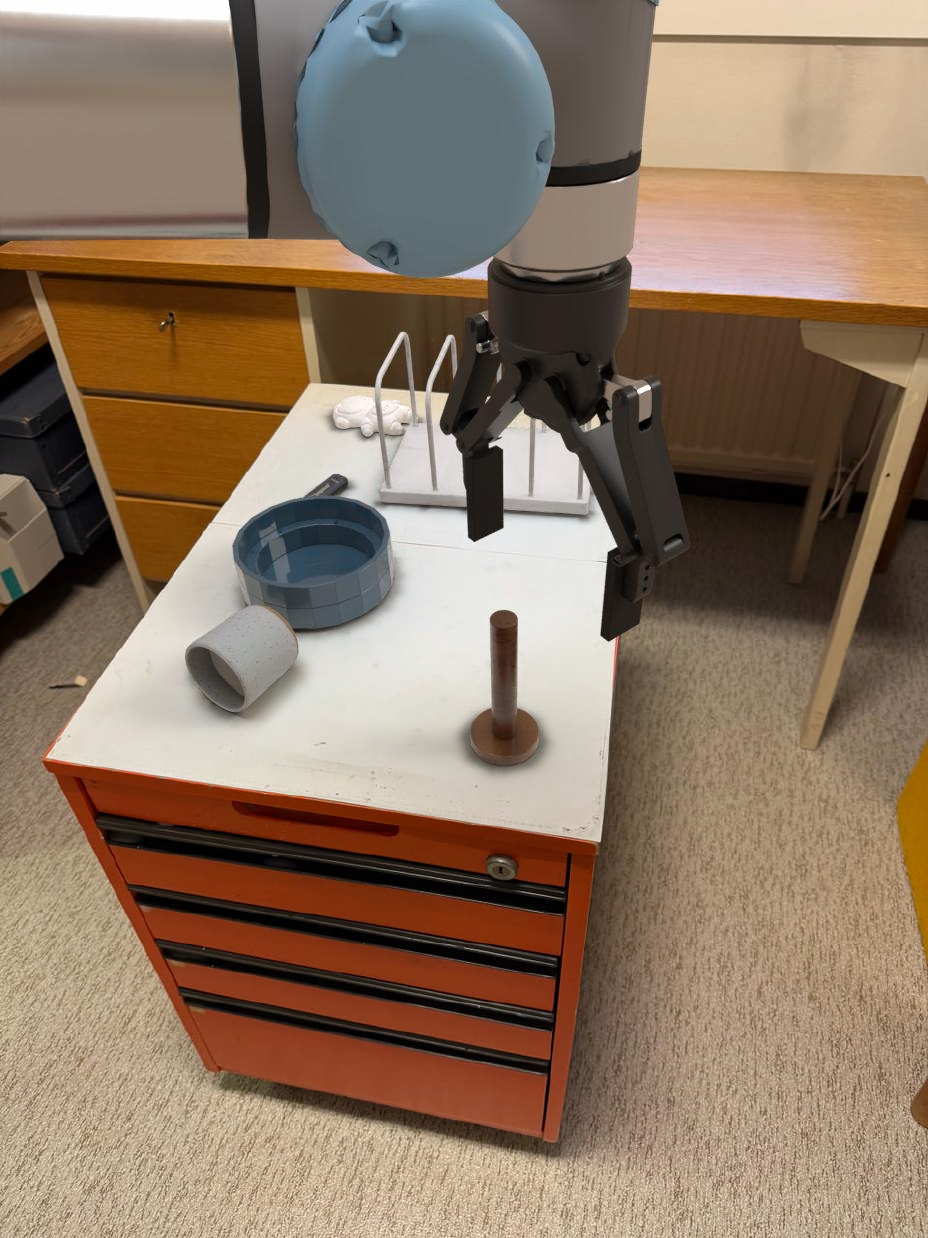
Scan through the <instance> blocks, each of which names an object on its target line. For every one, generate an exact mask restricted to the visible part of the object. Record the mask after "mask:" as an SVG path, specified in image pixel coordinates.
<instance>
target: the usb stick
mask: <svg viewBox="0 0 928 1238" xmlns="http://www.w3.org/2000/svg"><path fill="white" fill-rule="evenodd" d="M348 484H349V479H348V478H347V477H346V476H345V475H342V474H340V473H333V474H331V475H330V476H329V477H327V478H326V479H325V480H323V481H322V482H321V483H320V484H318V485H317V486H316V487H314V488H313V489H311V490H310V491H309V492H308V493H306V494H305V495H304V496H303V497H309V496H337V494H338V493H340V492H341V491H343V490H344V489H345V488H346V487H347V486H348Z"/></svg>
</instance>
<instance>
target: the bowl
mask: <svg viewBox="0 0 928 1238" xmlns="http://www.w3.org/2000/svg"><path fill="white" fill-rule="evenodd" d="M391 537H392V536H391V531H390V528H389V524H388V522H387V519H386V517H385V516H383V514H382V513H380V511H378V509H376V508H375V507H374V506H372V505H370V504H368V503H365V502H363V501H361V500H359V499H356V498H351V497H345V496H341V495H334V496H309V497H304V496H303V497H298V498H292V499H288V500H285V501H283V502H280V503H277V504H273V505H271V506H269V507H267V508H265V509H263V510H262V511H261V512H259V513H257V514H255V515H254V516H252V517H250V519H248V521H247V522H245V523H244V525H243V526H241V528H240V529H239V530H237V534H236V536H235V538H234V540H233V543H232V545H231V547H232V556H233V557H232V558H233V563H234V566H235V571H236V574H237V578H238V582H239V586H240V589H241V593H242V597H243V601H244V602H245V603H246V604H247V607H248V606H251V605H256V604H258V605H263V606H266V607H269V608H271V609H273V610H275V611H276V612H278V613H279V614H280V615H281V616H282V617H283V618H284V619H285V620H286V621H287V622H288V623H289V625H290V626H291V628H292V629H312V630H313V629H315V630H316V629H322V628H327V627H332V626H338V625H341V624H344V623H347V622H349V621H352V620H354V619H356V618H359V617H361V616H364V615H365V614H367V613H368V612H369V611H371V610H372V609H373V608H375V607H376V606H377V605H379V604H380V603H381V602H382V601H383V600H384V598H385V597H386V596H387V594H388V593H389V591H390V590H391V588H392V586H393V582H394V576H395V565H394V564H395V563H394V555H393V547H392V538H391Z"/></svg>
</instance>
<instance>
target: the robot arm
mask: <svg viewBox="0 0 928 1238" xmlns="http://www.w3.org/2000/svg"><path fill="white" fill-rule="evenodd" d="M659 5H660V0H0V242H42V241H43V242H51V241H53V242H54V241H57V242H59V241H60V242H61V241H62V242H63V241H66V242H67V241H71V242H72V241H155V240H156V241H169V240H170V241H178V240H181V241H185V240H186V241H189V240H191V241H192V240H195V241H196V240H198V241H199V240H293V241H294V240H295V241H296V240H298V241H299V240H301V241H302V240H306V241H308V240H309V241H339V243H340V244H341V245H342V246H343V248H345V249H347V251H349V252H351V253H352V254H353V255H356V256H358V257H360V258H362V259H363V260H365V261H366V262H367V263H369V264H370V265H372V266H374V267H377V268H380V269H382V270H384V271H387V272H390V273H393V274H395V275H399V276H401V277H406V278H413V279H414V278H415V279H439V278H443V277H450V276H454V275H457V274H460V273H464V272H466V271H469V270H471V269H473V268H476V267H477V266H479V265H481V264H483V263H485V262H486V261H487V260H489V259H491V258H492V257H493V258H492V259H491V260H490V262H489V263H488V265H487V268H486V270H487V271H486V272H487V275H486V276H487V310H485V311H481V312H479V313H476V314H473V315H471V316H468V317H466V318H465V319H464V335H463V350H462V353H461V355H460V359H459V362H458V364H457V371H456V374H455V377H454V380H453V379H452V383H451V385H450V389H449V392H448V395H447V398H446V400H445V404H444V407H443V410H442V413H441V416H440V418H439V424H440V428H441V430H442V432H443V433H444V434H445V435H450V434H452V435H453V436H454V437H455V438H456V446H457V448H458V450H459V452H460V453H462V463H463V482H464V486H465V489H466V502H467V507H466V524H467V525H466V526H467V539H469V540H471V541H472V542H473V543H476V542H478V541H480V540H482V539H484V538H486V537H488V536H491V535H493V534H494V533H497V532H499V531H501V530H503V529H504V528H505V526H504V525H505V524H504V519H505V518H504V516H505V515H504V513H505V512H504V510H505V509H504V500H503V449H502V448H500V447H498V446H497V445H495V446H493V447H491V448H489V443H492V442H494V441H497V440H499V439H501V438H502V437H498V436H499V435H500V434H501V433H502V432H503V431H504V430H505V429H506V427H509V425H510V424H511V423H512V422H513V421H514V420H515V419H516V418H517V417H518V416H519V414H521V412H522V411H523V414H524V415H526V416H527V417H529V418H530V417H531V418H533V419H536V420H539V421H541V422H542V421H543V422H544V423H545V424H546V427H548V429H552V430H554V431H555V432H557V433H560V435H561V437H562V439H563V442H564V444H565V446H566V448H567V450H568V451H570V452H572V453H575V454H577V456H578V458H579V460H580V462H581V465H582V467H583V469H584V471H585V474H586V476H587V478H588V481H589V483H590V485H591V491H592V493H593V494H594V496H595V498H596V499H595V500H596V501H597V504H598V506H599V508H600V510H601V512H602V515H603V517H604V520H605V521H606V524H607V526H608V528H609V531H610V534H611V535H612V538H613V540H614V543H615V544H616V547H614V548H612V549H611V550H608V551H607V553H606V554H607V556H606V566H605V576H604V577H605V578H604V588H603V598H602V599H603V600H602V610H601V621H600V633H599V635H600V637H601V638H602V639H604V640H605V641H606V642H608V643H609V642H611V641H613V640H615V639H616V638H618V637H619V636H621V635H623V634H625V633H626V632H628V631H630V630H631V629H633V628H635V627H636V626H638V625H640V623H641V615H642V608H643V600H644V597H646V596H648V595H649V594H651V592H652V591H653V590H654V589H653V587H654V581H655V580H654V579H655V574H656V568H658V567H660V566H661V565H664V564H665V563H667V562H669V561H671V560H672V559H674V558H676V557H677V556H680V555H681V554H683V553H685V552H687V551H688V550H689V549H690V548H691V540H690V535H689V531H688V527H687V523H686V518H685V514H684V510H683V506H682V501H681V497H680V494H679V488H678V484H677V480H676V476H675V473H674V472H675V471H674V467H673V463H672V459H671V455H670V451H669V446H668V443H667V438H666V433H665V430H664V426H663V425H664V424H663V421H662V409H663V385H662V383H661V381H660V379H659V378H658V377H657V376H655V375H649V376H646V377H643V378H642V379H639V380H635V379H632V378H629V377H626V376H623V375H620V374H619V369H618V367H617V362H616V355H615V352H616V348H617V345H618V343H619V341H620V339H621V337H622V335H623V334H624V332H625V330H626V327H627V326H628V325H627V324H628V320H629V309H630V297H631V285H632V276H633V275H632V273H633V266H632V263H631V262H630V260H629V259H628V257H627V256H628V255H629V254H630V252H631V251H632V250H633V248H634V240H635V230H636V229H635V228H636V218H637V209H638V199H639V186H640V177H641V163H642V152H643V149H642V148H643V145H642V144H643V135H644V125H645V124H644V123H645V116H646V115H645V114H646V104H647V95H648V86H649V75H650V67H651V56H652V47H653V39H654V37H653V36H654V29H655V19H656V11H657V7H659ZM502 363H503V366H504V369H505V370H504V371H503V373H502V374H503V375H502V378H501V379H500V381H499V382H498V383H497V382H496V384H495V385H494V386H493V384H494V383H495V380H496V379H495V378H497V372H498V369H499V367H500V364H501V365H502ZM492 387H493V388H492ZM489 396H490V397H489ZM488 397H489V398H488ZM595 416H597V419H598V420H599V426H597V427H594V428H591V430H590V431H587V432H584V431H582V430H581V429H580V426H582V425H584V424H585V425H587V423H588V422H589V421H591V422H592V420H593V419H594V418H595ZM636 531H637V534H635V532H636Z"/></svg>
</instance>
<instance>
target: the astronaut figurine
mask: <svg viewBox="0 0 928 1238" xmlns="http://www.w3.org/2000/svg"><path fill="white" fill-rule="evenodd" d="M381 408H382V416H383V425H384V433H385V435H390V436H400V435H402V434H403V432H404V427H403V426H402V424H408V425H409V424H410V423H413V417H412V408H411V407H410V406H407V405H403V404H402V401H401V400H399V399H392V400H391V399H390V400H389V399H381ZM332 419H333V422H334V425H335V427H336V428H338V429H341V430H345V429H347V430H348V429H349V428H360V430H361V433H362V436H364V437H367V438H368V437H371V436H372V435H374V433H379V429H378V421H377V413H376V404H375V399H374V398H373V397H370V396H366V395H361V394H359V395H358V394H357V395H350V396H347V397H345V398H343V399H341V400H340V401H339V402H338V403H337V404H336V405H334V408H333V411H332ZM417 423H419V415H418V413H417Z"/></svg>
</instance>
